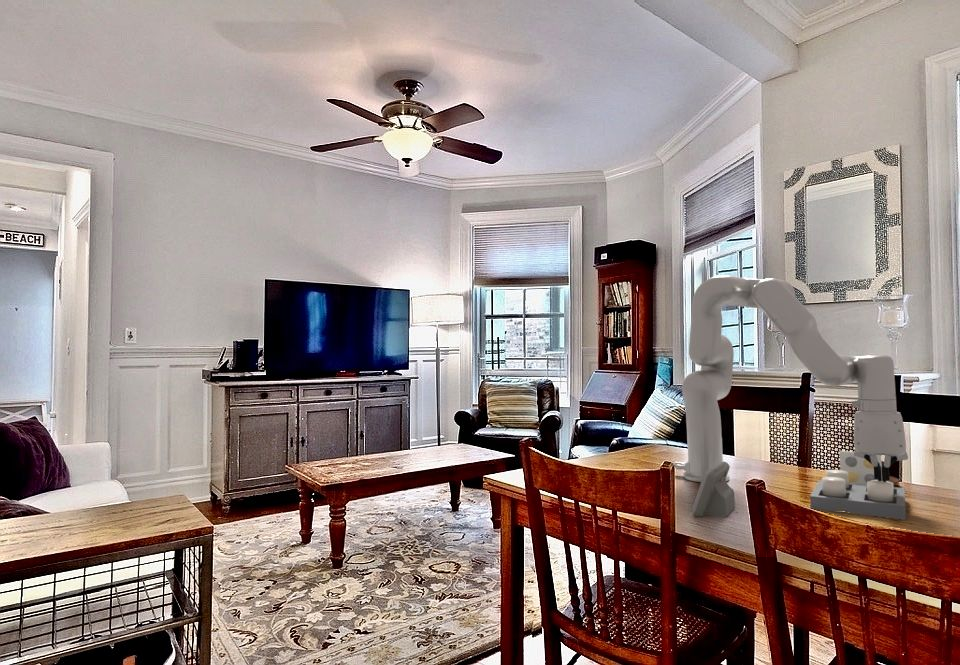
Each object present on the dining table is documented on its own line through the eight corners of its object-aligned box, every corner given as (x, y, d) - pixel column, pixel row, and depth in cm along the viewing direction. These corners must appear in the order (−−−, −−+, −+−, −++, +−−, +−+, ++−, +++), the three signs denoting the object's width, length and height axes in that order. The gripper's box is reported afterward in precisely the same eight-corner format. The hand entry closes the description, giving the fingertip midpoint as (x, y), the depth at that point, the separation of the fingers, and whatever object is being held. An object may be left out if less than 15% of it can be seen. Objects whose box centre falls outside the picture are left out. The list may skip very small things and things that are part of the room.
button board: (810, 508, 135) (810, 496, 135) (819, 491, 150) (818, 480, 150) (905, 520, 124) (905, 506, 125) (905, 500, 139) (904, 488, 139)
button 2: (825, 486, 143) (824, 472, 143) (827, 482, 147) (826, 469, 147) (848, 489, 140) (847, 474, 140) (849, 484, 144) (848, 470, 144)
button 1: (821, 495, 136) (820, 480, 136) (823, 490, 140) (822, 476, 140) (845, 497, 133) (844, 482, 133) (846, 493, 137) (846, 478, 137)
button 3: (867, 500, 130) (866, 484, 130) (868, 495, 134) (867, 480, 134) (893, 502, 127) (892, 486, 128) (893, 497, 131) (892, 482, 131)
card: (838, 490, 150) (836, 452, 150) (839, 488, 153) (837, 450, 153) (885, 495, 144) (883, 455, 144) (885, 492, 147) (883, 453, 147)
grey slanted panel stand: (711, 500, 145) (709, 458, 146) (747, 507, 139) (745, 462, 139) (679, 514, 134) (676, 469, 135) (716, 522, 128) (714, 474, 128)
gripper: (839, 407, 140) (844, 483, 139) (916, 408, 131) (921, 489, 131) (842, 404, 146) (846, 476, 145) (915, 405, 137) (920, 482, 137)
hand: (882, 482), depth 138 cm, fingers closed
